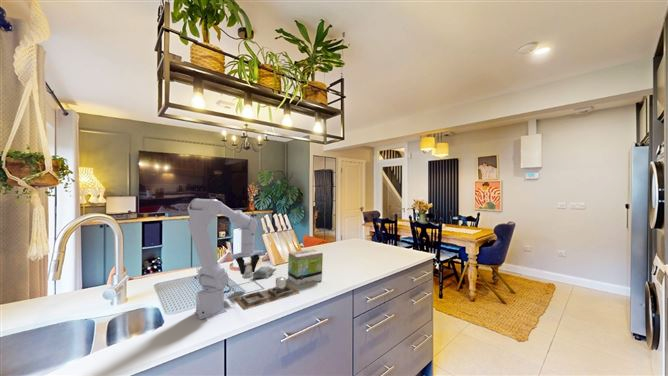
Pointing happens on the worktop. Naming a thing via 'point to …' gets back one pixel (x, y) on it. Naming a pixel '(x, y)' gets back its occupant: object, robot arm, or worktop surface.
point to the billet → (280, 285)
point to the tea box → (305, 266)
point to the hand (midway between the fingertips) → (247, 272)
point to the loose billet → (248, 270)
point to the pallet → (263, 297)
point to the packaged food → (263, 272)
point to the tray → (247, 292)
